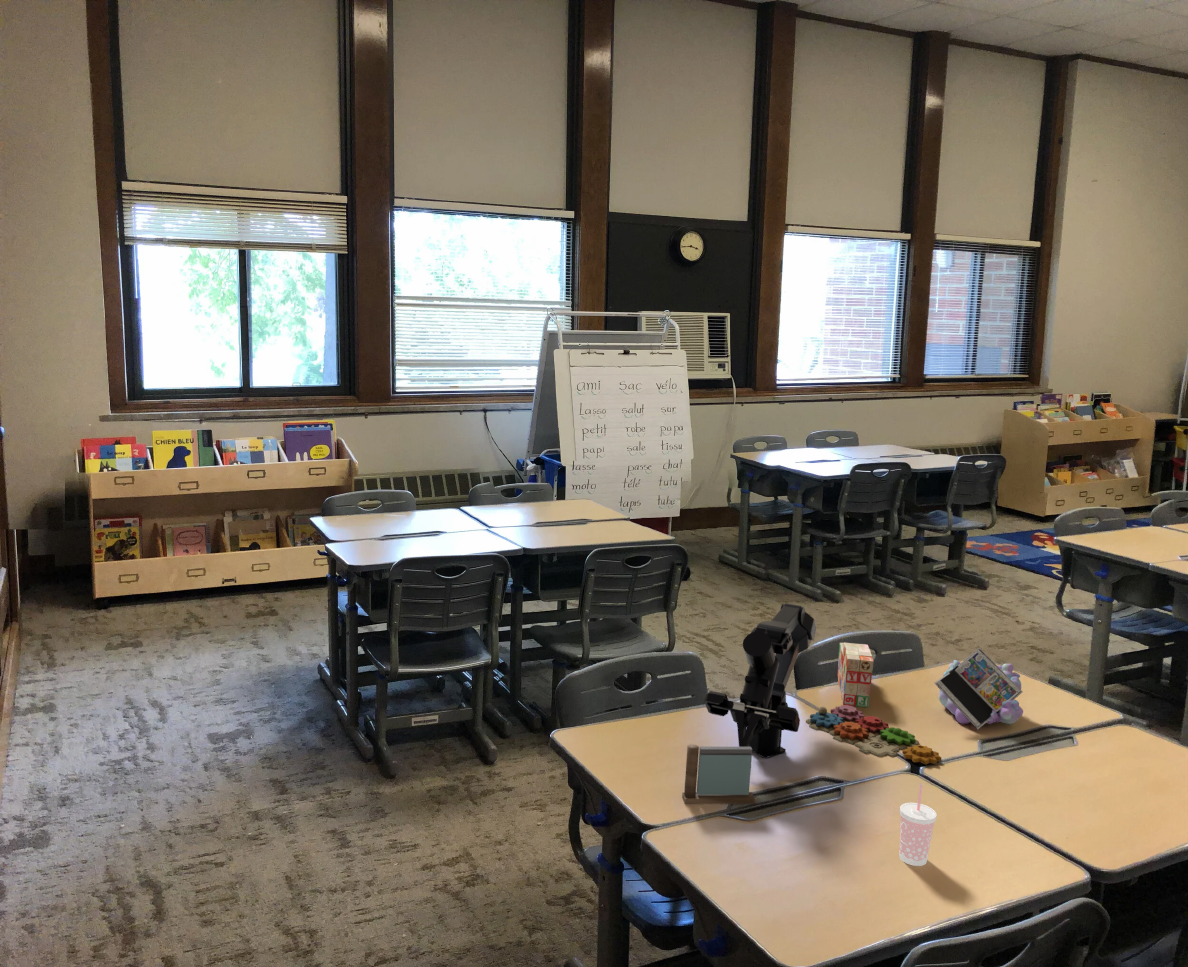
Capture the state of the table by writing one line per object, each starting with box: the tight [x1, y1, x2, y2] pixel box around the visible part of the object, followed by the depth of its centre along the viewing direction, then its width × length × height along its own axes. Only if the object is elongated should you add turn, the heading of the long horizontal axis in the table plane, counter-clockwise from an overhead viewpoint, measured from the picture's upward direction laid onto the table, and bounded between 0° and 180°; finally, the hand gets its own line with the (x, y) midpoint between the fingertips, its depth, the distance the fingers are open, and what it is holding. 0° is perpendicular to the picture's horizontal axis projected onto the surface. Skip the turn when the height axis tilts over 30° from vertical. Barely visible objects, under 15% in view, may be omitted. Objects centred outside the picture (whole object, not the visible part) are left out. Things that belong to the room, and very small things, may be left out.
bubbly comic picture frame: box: [934, 647, 1024, 730], centre depth 234 cm, size 20×22×18 cm
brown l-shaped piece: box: [681, 743, 756, 805], centre depth 187 cm, size 3×14×11 cm, turn 95°
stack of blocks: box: [837, 642, 874, 708], centre depth 248 cm, size 21×6×12 cm, turn 170°
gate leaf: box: [696, 746, 753, 795], centre depth 187 cm, size 1×10×9 cm, turn 95°
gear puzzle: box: [805, 704, 942, 765], centre depth 219 cm, size 31×16×4 cm, turn 35°
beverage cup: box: [899, 783, 938, 867], centre depth 169 cm, size 6×6×14 cm
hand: (741, 750), depth 192 cm, fingers closed
